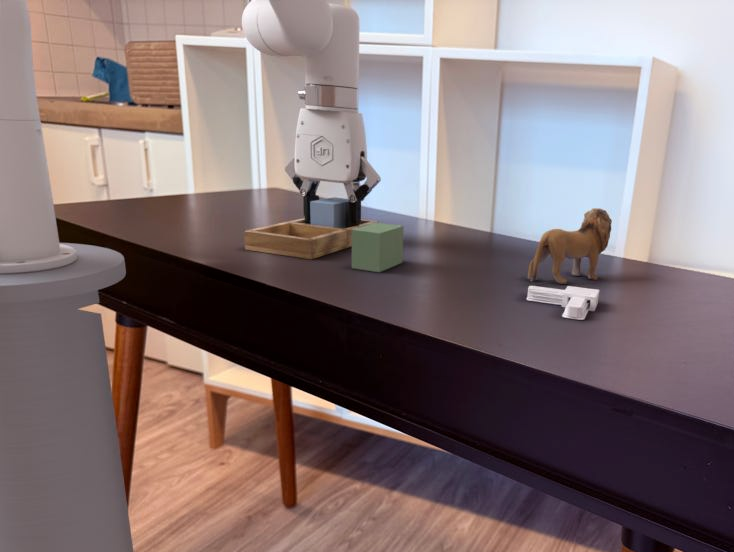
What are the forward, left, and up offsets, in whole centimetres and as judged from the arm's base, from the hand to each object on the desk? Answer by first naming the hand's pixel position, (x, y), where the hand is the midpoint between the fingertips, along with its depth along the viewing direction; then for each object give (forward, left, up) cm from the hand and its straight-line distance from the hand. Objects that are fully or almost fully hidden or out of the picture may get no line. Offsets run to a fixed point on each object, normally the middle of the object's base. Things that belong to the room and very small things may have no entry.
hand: (332, 224), depth 102 cm
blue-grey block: (0, 0, -2) cm, 2 cm away
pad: (-12, -14, -2) cm, 19 cm away
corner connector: (-19, -40, -3) cm, 45 cm away
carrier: (-4, 0, -2) cm, 5 cm away
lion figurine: (-4, -38, -3) cm, 38 cm away
